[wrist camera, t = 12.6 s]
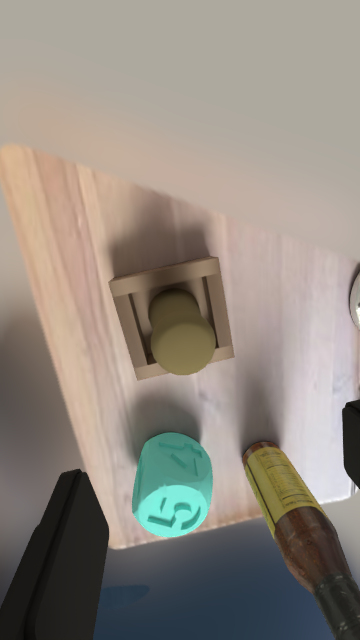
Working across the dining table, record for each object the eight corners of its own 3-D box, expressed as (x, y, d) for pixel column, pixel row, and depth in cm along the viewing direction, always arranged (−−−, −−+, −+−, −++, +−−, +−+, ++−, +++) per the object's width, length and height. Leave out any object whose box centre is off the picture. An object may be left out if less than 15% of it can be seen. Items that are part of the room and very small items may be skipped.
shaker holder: (210, 256, 29) (218, 257, 25) (225, 344, 32) (234, 357, 28) (114, 277, 28) (108, 282, 25) (139, 365, 31) (137, 380, 28)
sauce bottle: (270, 476, 39) (384, 698, 20) (233, 468, 37) (316, 695, 18) (289, 441, 37) (431, 645, 18) (251, 432, 36) (361, 638, 17)
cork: (163, 278, 28) (169, 296, 18) (209, 303, 29) (241, 334, 19) (138, 324, 29) (130, 368, 19) (184, 346, 31) (200, 399, 20)
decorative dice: (149, 426, 34) (147, 478, 26) (205, 437, 36) (219, 489, 28) (134, 473, 36) (128, 534, 28) (187, 481, 37) (196, 542, 30)
